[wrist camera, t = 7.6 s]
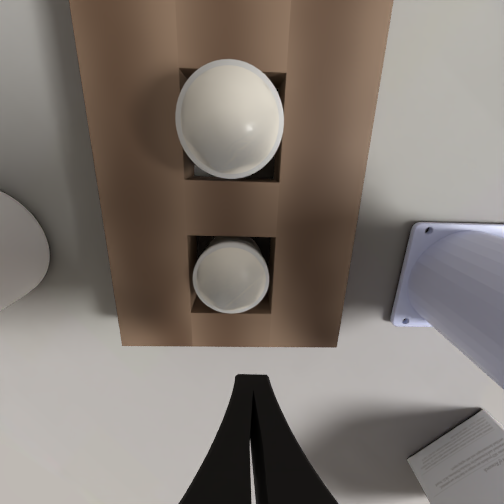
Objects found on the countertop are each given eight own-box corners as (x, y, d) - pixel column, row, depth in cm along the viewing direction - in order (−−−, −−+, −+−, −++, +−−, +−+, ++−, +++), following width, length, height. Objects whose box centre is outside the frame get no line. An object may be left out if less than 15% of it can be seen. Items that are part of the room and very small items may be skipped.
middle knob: (278, 83, 13) (288, 61, 10) (272, 175, 15) (280, 180, 12) (188, 79, 13) (171, 56, 10) (192, 173, 15) (178, 177, 12)
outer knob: (266, 230, 18) (271, 244, 15) (263, 289, 19) (267, 314, 16) (200, 228, 18) (190, 243, 15) (202, 288, 19) (194, 313, 16)
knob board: (392, -174, 12) (438, -276, 9) (323, 321, 21) (336, 347, 18) (75, -200, 12) (19, -317, 9) (139, 319, 20) (122, 345, 17)
